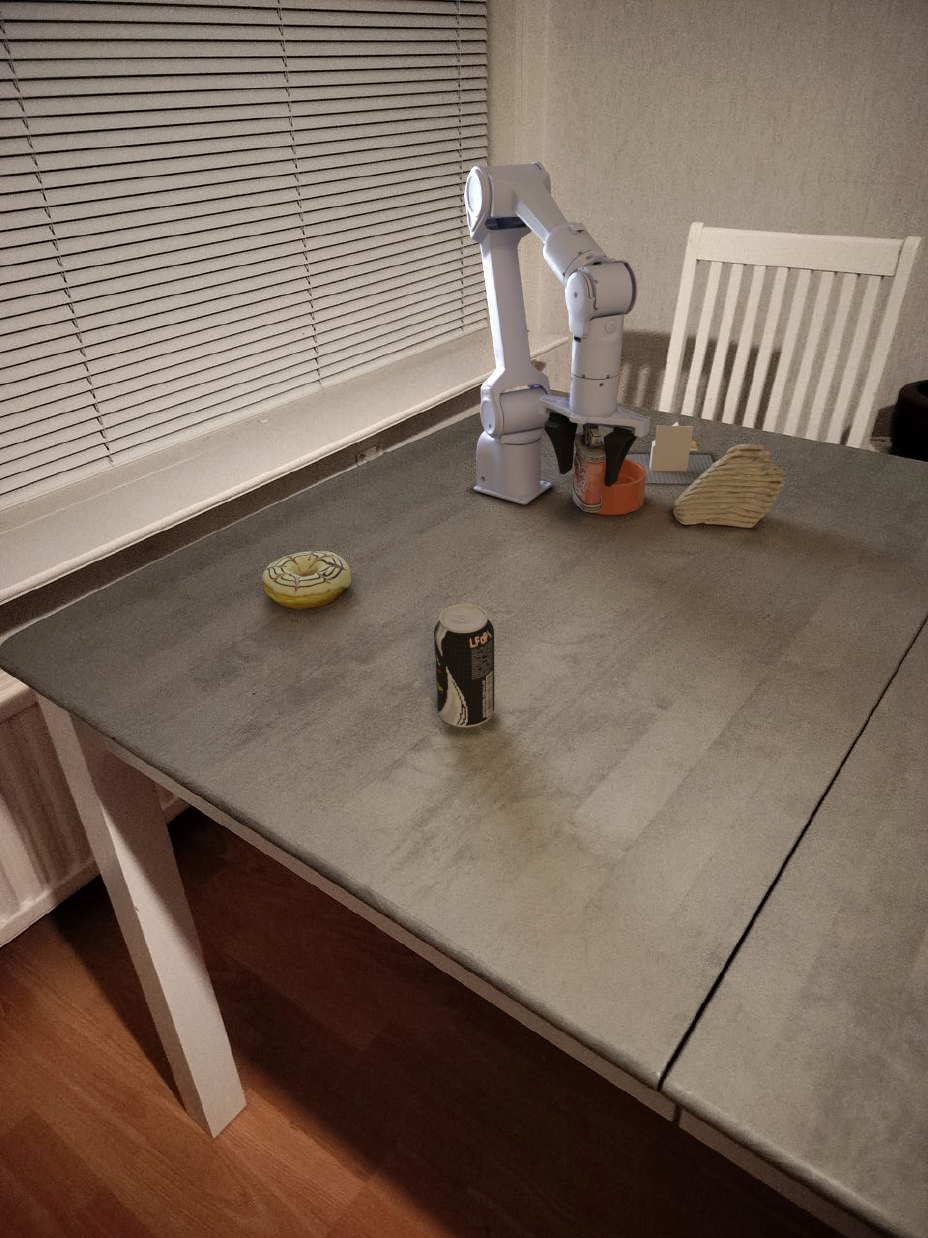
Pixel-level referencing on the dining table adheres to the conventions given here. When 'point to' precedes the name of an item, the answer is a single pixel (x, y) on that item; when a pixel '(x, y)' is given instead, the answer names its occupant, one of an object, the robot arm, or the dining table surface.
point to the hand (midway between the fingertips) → (587, 477)
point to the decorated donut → (306, 579)
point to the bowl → (623, 490)
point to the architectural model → (672, 457)
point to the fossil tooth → (732, 489)
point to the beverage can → (464, 665)
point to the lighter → (588, 468)
